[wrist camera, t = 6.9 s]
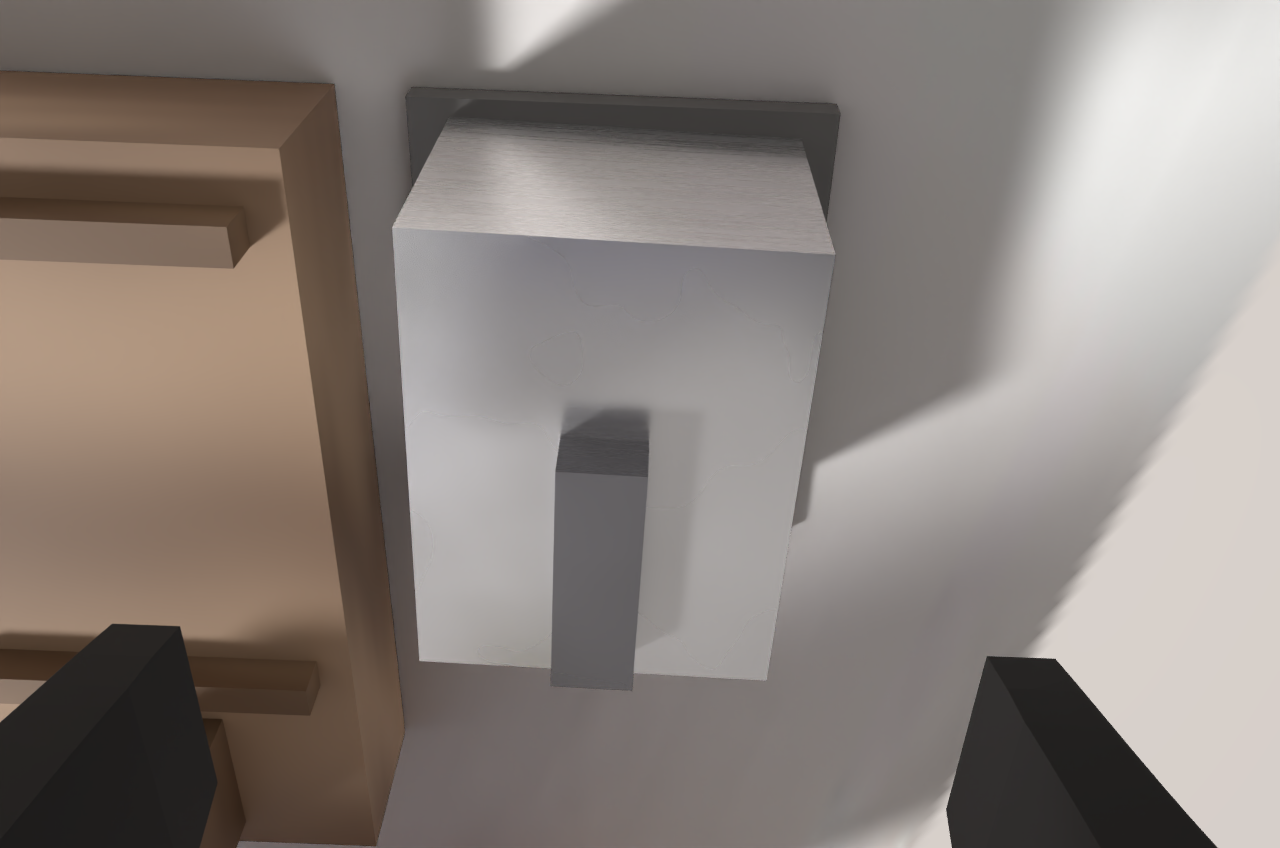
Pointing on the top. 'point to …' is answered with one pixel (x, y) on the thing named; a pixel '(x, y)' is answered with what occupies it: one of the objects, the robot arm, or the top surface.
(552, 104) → the rubber mat
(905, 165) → the top surface
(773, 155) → the lever cap
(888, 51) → the top surface
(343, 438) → the body
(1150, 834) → the robot arm
